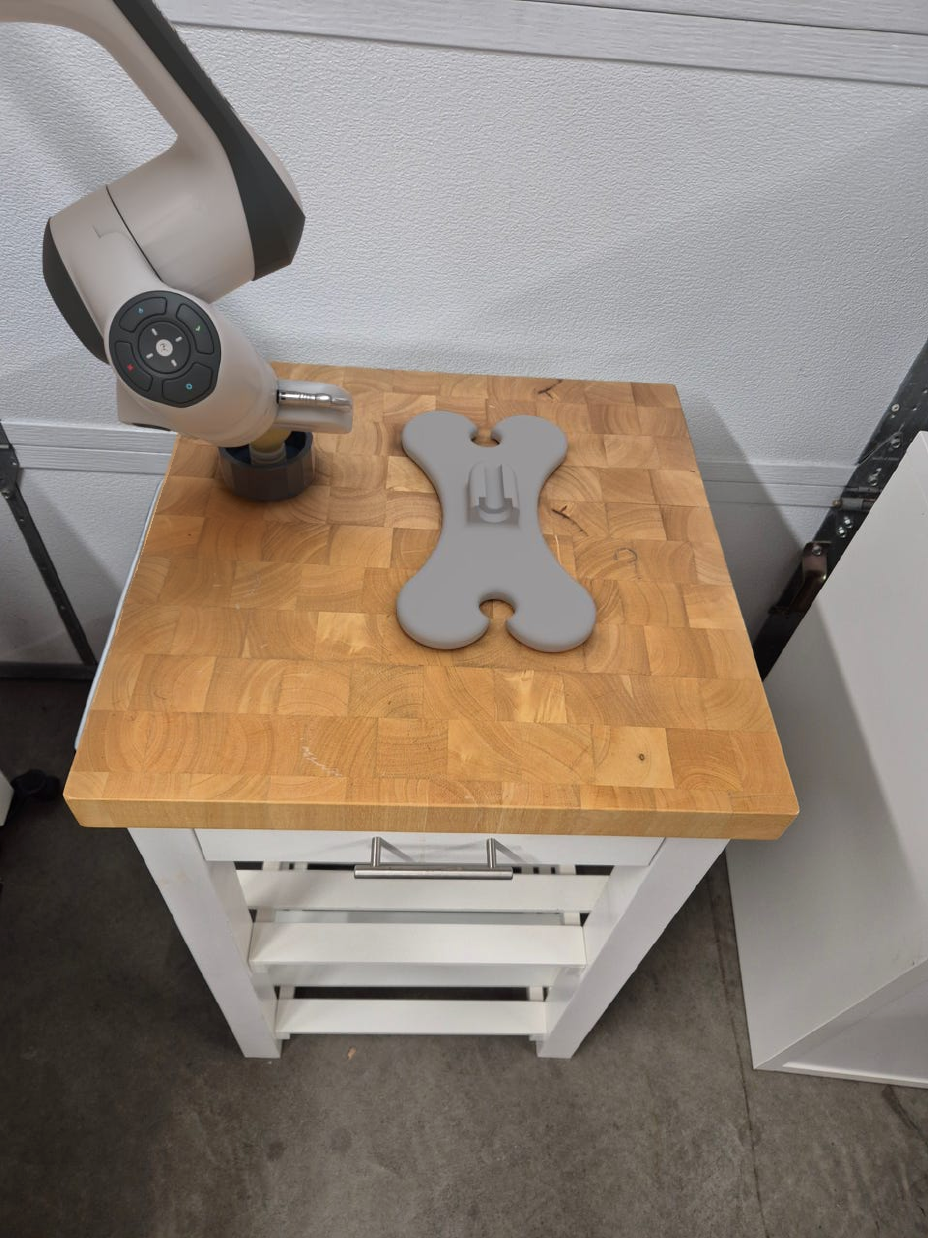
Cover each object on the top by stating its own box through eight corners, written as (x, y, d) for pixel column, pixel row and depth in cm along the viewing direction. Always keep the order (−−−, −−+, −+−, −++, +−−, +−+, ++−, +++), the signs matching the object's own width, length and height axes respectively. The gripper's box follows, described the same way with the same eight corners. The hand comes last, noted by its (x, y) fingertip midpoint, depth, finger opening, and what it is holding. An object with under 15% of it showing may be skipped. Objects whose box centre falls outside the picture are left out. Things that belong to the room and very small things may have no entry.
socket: (214, 499, 85) (207, 465, 82) (232, 439, 91) (226, 406, 88) (308, 505, 86) (306, 472, 82) (320, 445, 92) (318, 413, 88)
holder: (561, 427, 98) (569, 392, 94) (599, 656, 76) (611, 623, 72) (402, 419, 96) (403, 383, 92) (395, 651, 75) (395, 616, 71)
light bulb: (243, 447, 90) (230, 368, 82) (302, 449, 90) (294, 371, 83) (236, 486, 86) (222, 407, 78) (297, 487, 86) (289, 409, 79)
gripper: (351, 362, 68) (362, 391, 82) (100, 342, 67) (154, 375, 80) (347, 439, 68) (359, 455, 82) (98, 420, 67) (152, 440, 81)
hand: (256, 415), depth 81 cm, fingers open, 8 cm apart
